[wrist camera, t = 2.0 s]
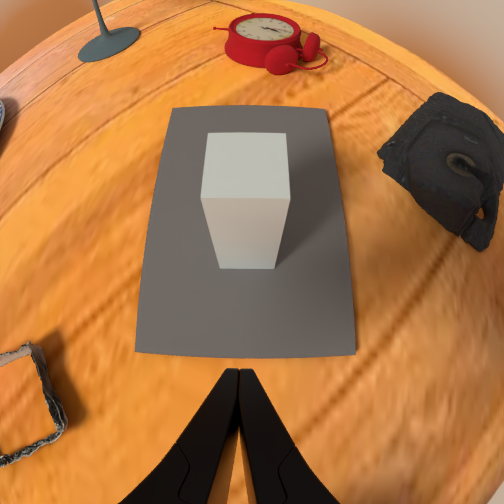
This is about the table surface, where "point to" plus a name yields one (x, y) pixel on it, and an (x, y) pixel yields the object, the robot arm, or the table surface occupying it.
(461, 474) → the table surface
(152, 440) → the table surface
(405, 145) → the dark slate chunk
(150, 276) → the rubber mat
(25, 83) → the table surface
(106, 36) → the cocktail glass
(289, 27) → the alarm clock
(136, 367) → the table surface
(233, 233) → the painted block
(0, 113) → the ceramic plate
